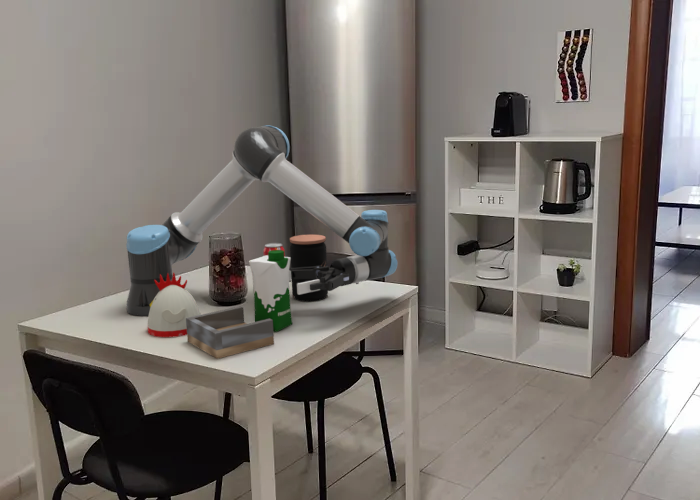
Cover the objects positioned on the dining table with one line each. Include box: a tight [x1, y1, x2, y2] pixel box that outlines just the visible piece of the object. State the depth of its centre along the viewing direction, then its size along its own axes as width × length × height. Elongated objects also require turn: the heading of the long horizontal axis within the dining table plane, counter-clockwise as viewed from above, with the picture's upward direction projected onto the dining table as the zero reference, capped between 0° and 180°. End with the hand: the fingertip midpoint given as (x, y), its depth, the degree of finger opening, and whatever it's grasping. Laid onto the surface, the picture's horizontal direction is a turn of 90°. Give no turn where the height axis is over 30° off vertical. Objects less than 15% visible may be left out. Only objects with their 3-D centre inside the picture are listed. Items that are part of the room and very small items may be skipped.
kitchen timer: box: [147, 272, 202, 338], centre depth 179 cm, size 14×14×15 cm
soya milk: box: [248, 250, 293, 333], centre depth 177 cm, size 9×9×20 cm
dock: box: [186, 305, 275, 359], centre depth 167 cm, size 16×15×6 cm
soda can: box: [262, 242, 286, 257], centre depth 226 cm, size 7×7×12 cm
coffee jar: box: [289, 234, 329, 302], centre depth 204 cm, size 11×11×18 cm
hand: (283, 284), depth 179 cm, fingers open, 13 cm apart
